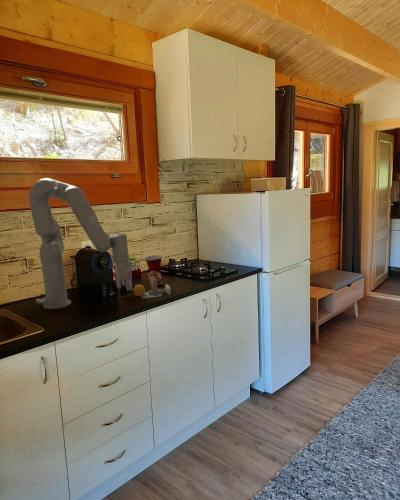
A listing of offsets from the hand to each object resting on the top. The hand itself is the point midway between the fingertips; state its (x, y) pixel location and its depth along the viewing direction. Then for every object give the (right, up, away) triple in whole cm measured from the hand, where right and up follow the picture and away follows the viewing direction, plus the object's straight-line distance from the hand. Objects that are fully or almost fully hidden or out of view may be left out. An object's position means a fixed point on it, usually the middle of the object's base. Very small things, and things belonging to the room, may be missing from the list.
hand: (123, 295), depth 189 cm
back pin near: (+16, 0, +2) cm, 16 cm away
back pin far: (+14, 0, +6) cm, 16 cm away
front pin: (+12, +1, +3) cm, 12 cm away
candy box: (-3, +1, +19) cm, 19 cm away
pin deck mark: (+13, 0, +4) cm, 14 cm away
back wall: (+21, +1, +7) cm, 23 cm away
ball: (+7, +2, +2) cm, 8 cm away
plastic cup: (+10, +6, +47) cm, 48 cm away
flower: (+14, +2, +21) cm, 25 cm away
